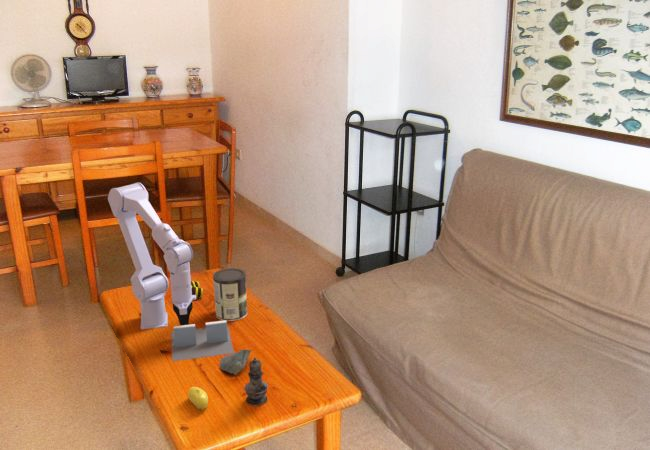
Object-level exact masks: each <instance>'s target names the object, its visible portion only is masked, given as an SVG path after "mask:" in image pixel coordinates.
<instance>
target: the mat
mask: <svg viewBox="0 0 650 450" xmlns="http://www.w3.org/2000/svg"><path fill="white" fill-rule="evenodd" d="M195 330H196V343H197V345H193V346H185V347H177V348H175V337H174V331H171V332H170V334H171V337H170V338H171V359H172V362H178V361H185V360H192V359H198V358H199V359H200V358H207V357H214V356H222V355H224V356H225V355H231V354H234V353H235V351H234V347H233V342H232V339H231V338H232V337H231V334H230V329H229V325H228V324H227V335H228V341H224V342H216V343H209V344H207V338H206V327H201V328H195Z"/></svg>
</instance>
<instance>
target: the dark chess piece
mask: <svg viewBox="0 0 650 450" xmlns="http://www.w3.org/2000/svg"><path fill="white" fill-rule="evenodd" d="M248 366H249V369H248V370H249V372H248V374H247V375H248V377H249V382H248V383H246V384H245V385H244V387H243V389H244V391H245V393H246V395H247V396H246V397H245V401H246V404H248V405H249V406H252V407H258V406H259V407H260V406H263V405H264V404H266V403H267V401H268V396H267V395H266V394H267V392H268V389H269V384H268V382H265V381H263V375H264V372H263V371H262V361H261V360H259V359H257V358H256V357H254V358H253V359H252V360H250V361H249V365H248Z"/></svg>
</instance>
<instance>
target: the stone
mask: <svg viewBox="0 0 650 450" xmlns="http://www.w3.org/2000/svg"><path fill="white" fill-rule="evenodd" d="M251 352H252V350H251V349H241V350H238V351H237V352H234V353H231V354H227V355H224V356H223V357H221V358H220V360H219V369H220V370H222V371H225V372H226V373H229V374H231V375H233V376H235V377H236V376H237V375H238V373H239V372H241V371H243V370H244V368H245V366H246V365H247V362H248V359H249V356H250V354H251Z"/></svg>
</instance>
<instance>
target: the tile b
mask: <svg viewBox="0 0 650 450" xmlns="http://www.w3.org/2000/svg"><path fill="white" fill-rule="evenodd" d="M227 325H228V321H226V320H218V321H217V320H215V321H208V322H205V328H206V338H207V344H209V343H216V342H224V341H228V335H227Z"/></svg>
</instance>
